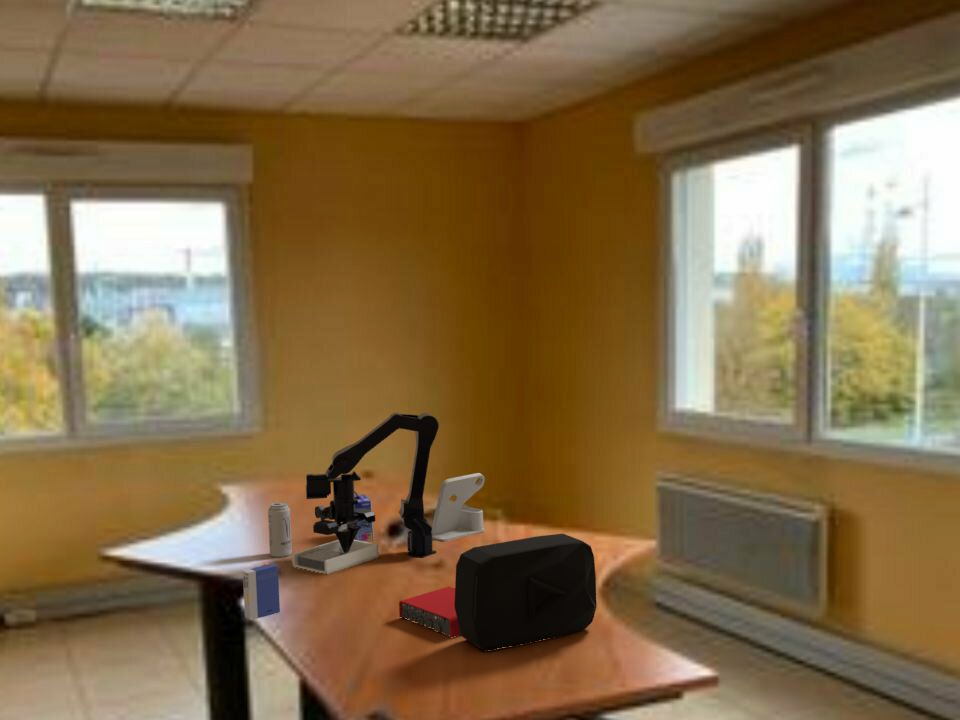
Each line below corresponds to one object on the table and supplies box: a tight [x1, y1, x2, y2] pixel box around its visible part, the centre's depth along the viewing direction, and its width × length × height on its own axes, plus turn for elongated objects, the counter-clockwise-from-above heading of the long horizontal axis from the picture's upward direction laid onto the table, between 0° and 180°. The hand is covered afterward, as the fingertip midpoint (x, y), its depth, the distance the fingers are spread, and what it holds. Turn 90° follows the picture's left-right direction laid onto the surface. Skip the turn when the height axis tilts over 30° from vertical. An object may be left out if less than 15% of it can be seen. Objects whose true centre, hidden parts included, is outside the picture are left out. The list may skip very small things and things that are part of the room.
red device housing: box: [398, 585, 461, 638], centre depth 220 cm, size 18×14×5 cm
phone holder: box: [431, 472, 486, 542], centre depth 297 cm, size 17×10×18 cm, turn 133°
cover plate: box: [298, 548, 347, 571], centre depth 265 cm, size 10×9×2 cm
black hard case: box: [454, 533, 598, 652], centre depth 208 cm, size 30×12×20 cm, turn 118°
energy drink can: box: [267, 501, 293, 558], centre depth 277 cm, size 6×6×15 cm
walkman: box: [242, 562, 281, 621], centre depth 226 cm, size 8×3×12 cm, turn 133°
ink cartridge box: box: [354, 490, 374, 542], centre depth 295 cm, size 10×6×14 cm, turn 19°
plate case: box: [291, 539, 379, 575], centre depth 269 cm, size 13×20×4 cm
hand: (346, 552), depth 272 cm, fingers closed
